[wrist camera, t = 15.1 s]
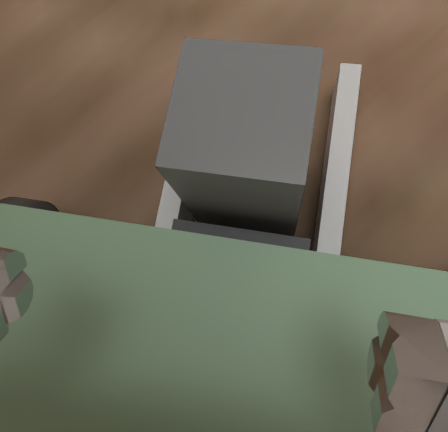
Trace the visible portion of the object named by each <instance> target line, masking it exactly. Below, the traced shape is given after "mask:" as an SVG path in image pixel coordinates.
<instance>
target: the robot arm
mask: <svg viewBox="0 0 448 432" xmlns="http://www.w3.org/2000/svg"><path fill="white" fill-rule="evenodd" d="M26 266H27V262H26V259H25V256H24V253H22V252H20V251H18V250H13V249H8V248H2V247H0V342H1V341H2V339H3V338H4V337H5V336H6V335H7V334H8V332H9V323H12V322H14V321H16V320H18V319H20V318H21V317H22V316H23V315H24V313H25V312H26V311H27V310H28V308H29V306H30V303H31V301H32V298H33V284H32V280H31V279H30V278H29V276H28V275H27V274H26V273H25V272H24V269H25V268H26ZM377 329H378V336H377V337H375V338H373V339H372V341H371V344H370V347H369V351H368V358H367V380H368V385H369V386H370V388H371V389H372V390H373V391H374V394H373V397H372V400H371V403H370V407H371V415H372V424H373V432H448V320H441V319H432V318H426V317H419V316H413V315H407V314H400V313H394V312H388V311H383V312H382V313H381V315H380V317H379V319H378V322H377Z"/></svg>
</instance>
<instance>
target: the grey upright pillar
mask: <svg viewBox="0 0 448 432" xmlns="http://www.w3.org/2000/svg"><path fill="white" fill-rule="evenodd" d="M323 54H324V48H319V47H306V46H293V45H279V44H266V43H253V42H240V41H226V40H213V39H200V38H187V37H184V40H183V44H182V49H181V53H180V57H179V62H178V66H177V71H176V75H175V80H174V84H173V88H172V93H171V97H170V102H169V106H168V110H167V115H166V119H165V124H164V128H163V133H162V137H161V141H160V146H159V150H158V155H157V159H156V163H155V167H156V168H157V169H158V171H159V172H160V173H161V175H162V176H163V177H164V178H165V180H166V181H167V182H168V184H169V185H170V186H171V187H172V189H173V190H174V191H175V192H176V194H177V195H178V196H179V198H180V199H181V200H182V201H183V203H184V204H185V205H186V207H187V208H188V209H189V210H190V212H191V213H192V214H193V216H194V217H195V218H196V219H197V221H198V222H200V223H207V224H214V225H220V226H227V227H234V228H240V229H247V230H254V231H261V232H267V233H274V234H281V235H287V236H294V234H295V229H296V225H297V220H298V216H299V211H300V207H301V202H302V198H303V193H304V189H305V184H306V177H307V170H308V162H309V155H310V148H311V141H312V133H313V126H314V119H315V112H316V104H317V97H318V90H319V83H320V75H321V68H322V61H323Z"/></svg>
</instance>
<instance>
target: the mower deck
mask: <svg viewBox="0 0 448 432" xmlns="http://www.w3.org/2000/svg"><path fill="white" fill-rule="evenodd" d="M361 66H362V65H359V64H347V63H341V64H340V68H339V72H338V76H337V79H336V83H335V87H334V91H333V95H332V102H331V110H330V118H329V125H328V133H327V141H326V148H325V156H324V164H323V172H322V179H321V187H320V195H319V202H318V210H317V218H316V226H315V233H314V241H313V249H312V251H310V243H311V239H308V238H301V237H294V236H287V235H281V234H274V233H267V232H261V231H254V230H247V229H240V228H234V227H227V226H220V225H214V224H207V223H200V222H193V221H192V220H193V214H192V213H191V212H190V210H189V209H188V208H187V207H186V205H185V204H184V203H183V201H182V200H181V199H180V198H179V196H178V195H177V194H176V192H175V191H174V190H173V189H172V187H171V186H170V185H169V184H168V182H167V181H166V180H165V182H164V186H163V191H162V196H161V200H160V205H159V209H158V214H157V218H156V223H155V227H153V226H147V225H140V224H134V223H127V222H120V221H114V220H107V219H101V218H94V217H88V216H81V215H75V214H68V213H62V212H59V210H58V209H57V208H56V207H55V206H54V205H53V204H51V203H49V202H45V201H38V200H31V199H25V198H18V197H8V198H4V199H2V200H0V247H2V248H8V249H13V250H18V251H20V252H22V253H24V256H25V259H26V262H27V266H26V268H25V269H24V272H25V273H26V274H27V275H28V276H29V278H30V279H31V280H32V284H33V298H32V301H31V303H30V306H29V308H28V310H27V311H26V312H25V313H24V315H23V316H22V317H21V318H20V319H18V320H16V321H14V322H12V323H9V332H8V334H7V335H6V336H5V337H4V338H3V339H2V341H1V342H0V432H373V424H372V415H371V407H370V403H371V400H372V397H373V394H374V391H373V390H372V389H371V388H370V386H369V385H368V380H367V358H368V351H369V347H370V344H371V341H372V339H373V338H375V337H377V336H378V329H377V322H378V319H379V317H380V315H381V313H382V312H383V311H388V312H394V313H400V314H407V315H413V316H419V317H426V318H432V319H441V320H448V272H447V271H440V270H434V269H427V268H420V267H414V266H407V265H401V264H394V263H388V262H381V261H375V260H368V259H362V258H355V257H349V256H342V255H340V251H341V242H342V233H343V224H344V216H345V207H346V198H347V189H348V181H349V172H350V163H351V154H352V145H353V137H354V128H355V119H356V110H357V102H358V93H359V84H360V75H361Z"/></svg>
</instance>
